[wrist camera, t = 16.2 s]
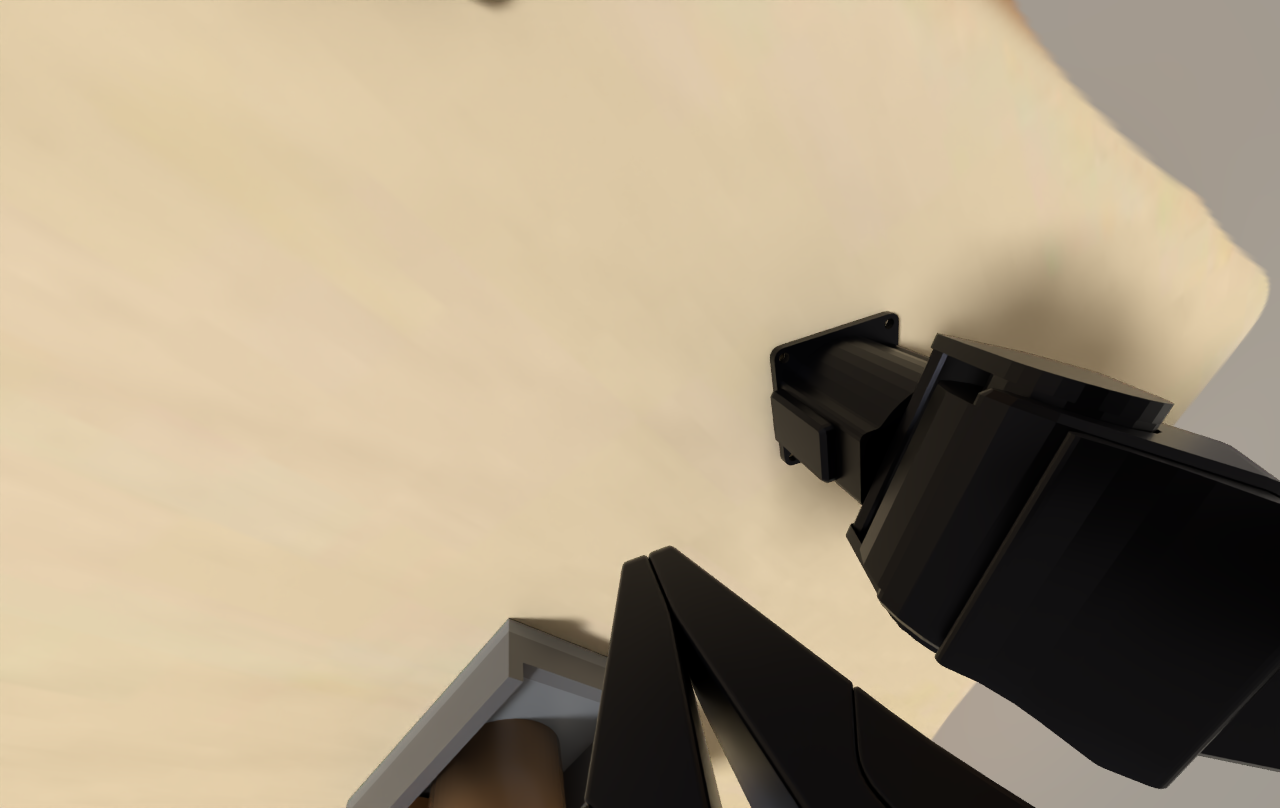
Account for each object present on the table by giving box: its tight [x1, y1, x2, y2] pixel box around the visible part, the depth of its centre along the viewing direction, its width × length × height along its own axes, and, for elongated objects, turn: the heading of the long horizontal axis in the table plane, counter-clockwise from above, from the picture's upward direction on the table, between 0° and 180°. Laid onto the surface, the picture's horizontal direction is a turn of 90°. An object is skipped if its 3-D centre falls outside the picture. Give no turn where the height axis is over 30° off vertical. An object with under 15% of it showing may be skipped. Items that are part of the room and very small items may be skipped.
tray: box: [346, 619, 607, 808], centre depth 24 cm, size 15×11×7 cm
